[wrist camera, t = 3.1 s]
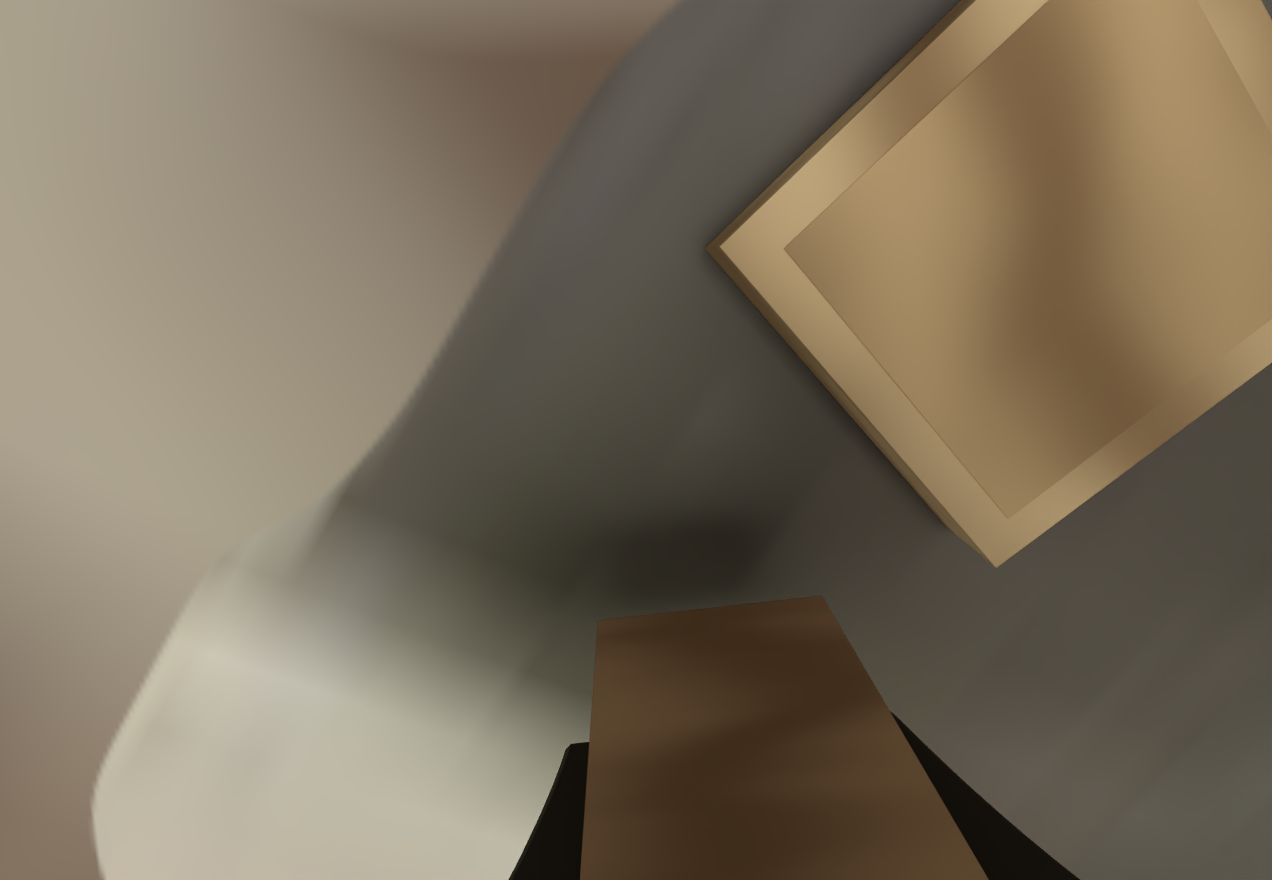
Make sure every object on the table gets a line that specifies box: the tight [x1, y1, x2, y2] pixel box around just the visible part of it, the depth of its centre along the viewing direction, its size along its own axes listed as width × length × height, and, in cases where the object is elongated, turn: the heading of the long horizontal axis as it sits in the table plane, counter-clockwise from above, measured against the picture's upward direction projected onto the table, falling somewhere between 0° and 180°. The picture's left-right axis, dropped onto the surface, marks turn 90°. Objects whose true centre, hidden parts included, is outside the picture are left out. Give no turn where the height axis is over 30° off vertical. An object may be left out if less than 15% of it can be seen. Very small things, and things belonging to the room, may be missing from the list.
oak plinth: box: [705, 0, 1272, 568], centre depth 15 cm, size 11×11×2 cm
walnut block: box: [580, 596, 989, 880], centre depth 10 cm, size 4×4×6 cm
